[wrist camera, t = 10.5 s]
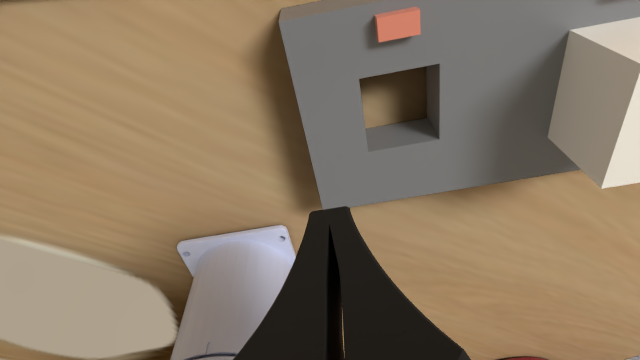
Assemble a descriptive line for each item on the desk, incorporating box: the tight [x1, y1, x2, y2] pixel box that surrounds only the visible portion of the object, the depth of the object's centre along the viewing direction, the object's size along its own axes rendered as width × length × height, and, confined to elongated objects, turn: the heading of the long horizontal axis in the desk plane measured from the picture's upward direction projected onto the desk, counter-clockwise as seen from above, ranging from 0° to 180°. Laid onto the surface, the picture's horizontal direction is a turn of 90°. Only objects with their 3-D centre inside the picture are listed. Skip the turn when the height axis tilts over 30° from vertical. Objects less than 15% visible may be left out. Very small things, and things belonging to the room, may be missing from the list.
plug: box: [548, 17, 640, 188], centre depth 18 cm, size 7×5×6 cm
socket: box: [279, 0, 640, 210], centre depth 20 cm, size 11×20×3 cm, turn 101°
